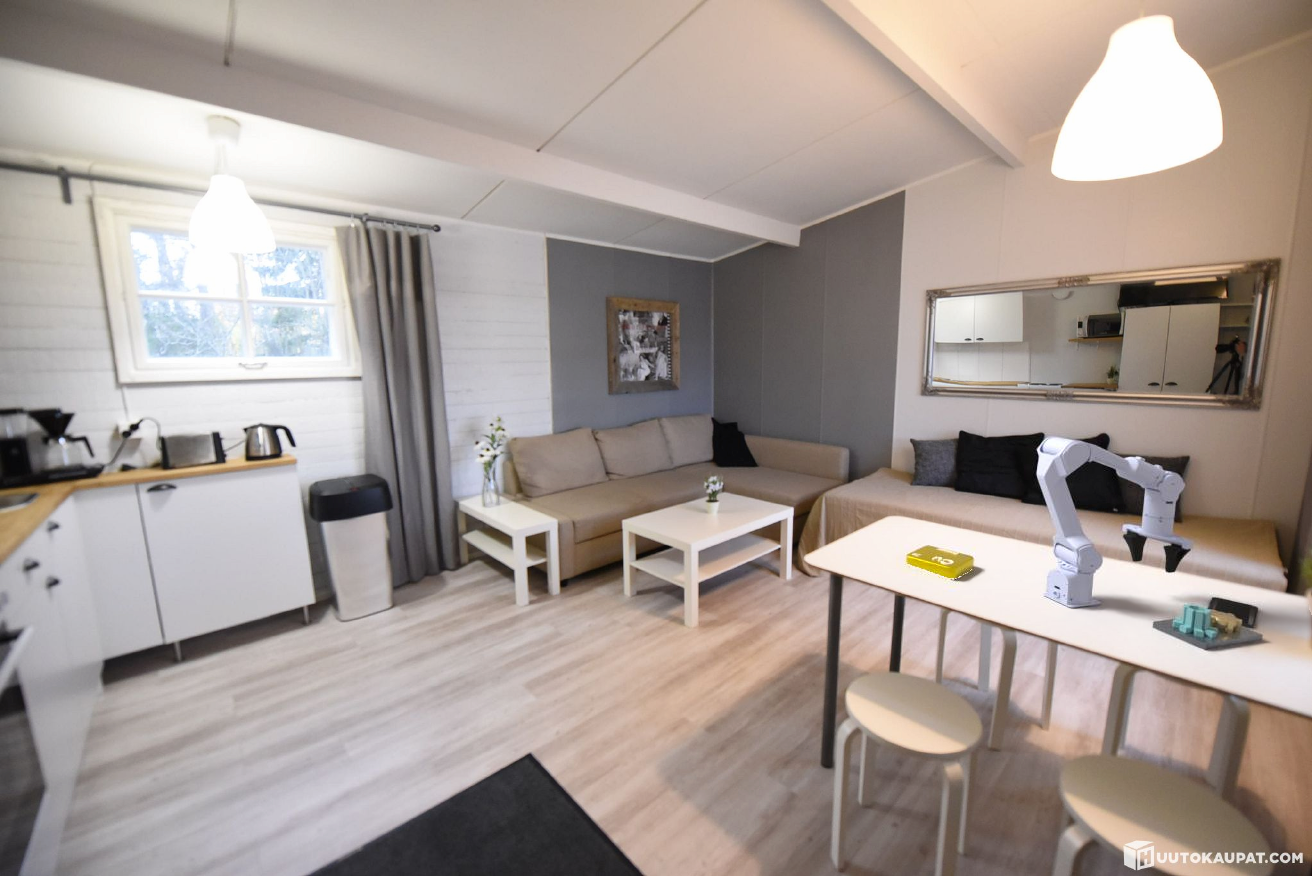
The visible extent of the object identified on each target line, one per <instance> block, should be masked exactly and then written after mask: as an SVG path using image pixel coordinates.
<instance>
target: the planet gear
mask: <svg viewBox="0 0 1312 876" xmlns="http://www.w3.org/2000/svg"><path fill="white" fill-rule="evenodd" d="M1181 616H1182V618H1181V617H1179V616H1178V617H1174V618H1175V620H1173V626H1174V627H1177V628H1179V630H1180V631H1182V632H1185V633H1189V632H1193V633H1194V634H1195V636H1199V637H1203V636H1204V635H1206V636H1208V637H1211V638H1215V637H1216V635H1218V631H1219V630H1218V629H1217V628H1215V627H1211V624H1210V619H1211V610H1209V609H1208V607H1206V606H1202V605H1198V604H1194V603H1192V604H1189V603H1185V604H1183V605H1182V615H1181Z"/></svg>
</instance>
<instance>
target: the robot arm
mask: <svg viewBox="0 0 1312 876" xmlns="http://www.w3.org/2000/svg"><path fill="white" fill-rule="evenodd" d="M1036 451H1037V454H1038V462H1037V468H1036V469H1037V470H1036V477H1037V481H1038V483H1039V484H1038V485H1039V486H1040V489H1041V492H1042V495H1043V498H1044V500H1045V504H1046V506H1047V509H1048V511H1049V515H1050V517H1051V520H1052V521H1051V522H1052V523H1053V526H1054V529H1055V532H1056V534H1055V535H1053V537H1052V540H1053V547H1052V552H1053V555H1054V556H1055V557H1056V558H1057V563H1058V565H1057V567H1056V568H1054V569H1051V570H1050V571H1049V572H1048V573H1047V578H1046V589H1045V592H1043V593H1042V595H1043V596H1044V597H1046V598H1048V599H1051V600H1053V601H1055V602H1057V603H1058V604H1062V605H1064V606H1066V607H1068V608H1071V609H1073V608H1079V607H1080V608H1081V607H1087V606H1095V605H1101V601H1100V600H1099V601H1098V600H1097V599H1095V598H1093V597H1092V596H1093V585H1094V575H1095V574H1096V571H1099V569H1100V568H1101V567H1102V565H1103V562H1104V559H1103V556H1102V554H1101V553H1100V551H1098V550H1097V549H1096V547H1095V545H1094V542H1093V541H1091V539H1089V537H1088V536H1087V535H1086V534H1085V533H1084V530H1083V527H1082V524H1081V522H1080V521H1081V520H1080V519H1079V516H1078V513H1077V511H1076V507H1075V504H1074V502H1073V499H1072V495H1071V493H1070V489H1069V487H1068V484H1067V481H1066V478H1067V477H1068V476H1069V475H1071V473H1073V472H1074V471H1076V470H1077V469H1078V468H1080V467H1081V466H1082V465H1084V464H1085V463H1086V462H1089V463H1091V462H1092V461H1093V462H1096V463H1099V464H1101V465H1104V466H1106V467H1110V468H1112V469H1114V470H1115V471H1116V474H1117V476H1118V477H1120V478H1123V479H1125V480H1128V481H1130V482H1132V483H1135V484H1137V485H1140V487H1141V488H1142V489H1144V499H1143V509H1142V519H1141V520H1142V521H1141V526H1140V525H1135V524H1130V523H1127V524H1125V523H1124V524H1122V532H1123V533H1124V534H1122V538H1123V539H1124V541H1125V543H1126V544H1127V546H1128V550H1129V552H1130V556H1131V559H1132V562H1135V563H1136V562H1142V560H1143V555H1144V548H1145V544H1146V542H1147V539H1148V538H1149V539H1152V540H1155V541H1159V542H1162V543H1166V544H1170V545H1163V550H1164V554H1165V565H1164V570H1165V573H1168V574H1170V573H1175V572H1176V570H1177V569H1178V566H1179V564H1180V563H1181V561H1182V560H1183V558H1184V557H1185V556H1186V555H1187V554H1189V552H1191V550H1192V549H1194V543H1195V540H1194V541H1193V540H1191V539H1187V538H1185V537H1183V536H1180V535H1177V534H1174V533H1173V531H1174V524H1175V523H1174V522H1175V512H1176V503H1177V501H1178V500H1179V497H1180V494H1181V493H1182V491H1183V490H1184V489H1185V487H1186V483H1185V482H1184V479H1183V478H1182V477H1181V475H1180V474H1178V473H1177V472H1174V471H1169V470H1164V469H1163V466H1161V465H1159V464H1154V465H1153V464H1151V463H1149V462H1147V461H1146V459H1145V458H1143V457H1141V456H1128V457H1122V456H1120V455H1117V454H1115V453H1113V452H1111V451H1110V450H1106V449H1104V448H1102V447H1100V446H1098V445H1096V444H1092V443H1088V442H1085V441H1082V440H1078V439H1077V440H1074V439H1070V438H1064V437H1061V436H1057V435H1056V436H1055V435H1052V436H1051V435H1050V436H1047V437H1046V438H1045V439H1043V440H1042V442H1041V443H1040V445H1039V446H1038V447H1037V448H1036Z"/></svg>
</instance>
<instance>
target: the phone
mask: <svg viewBox="0 0 1312 876" xmlns="http://www.w3.org/2000/svg"><path fill="white" fill-rule="evenodd" d="M1207 608H1208V609H1212V610H1216V611H1219V612H1224V613H1230V614H1233V615H1234V616H1235V617H1236V618H1237V619H1241V620H1242V625H1241V627H1244V628H1246V629H1250V630H1252V629H1255V626H1256V625H1255V624H1256V621H1257V617H1258V612H1259V607H1258V606H1256V605H1252V604H1249V603H1243V602H1240V601H1235V600H1231V599H1226V598H1222V597H1217V596H1212V597H1211V598H1210V601H1209V604H1208V606H1207Z"/></svg>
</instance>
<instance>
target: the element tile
mask: <svg viewBox="0 0 1312 876" xmlns="http://www.w3.org/2000/svg"><path fill="white" fill-rule="evenodd" d="M974 561H975V559H974V556H972V555H970V554H966V553H960V552H957V551H953V550H949V549H945V548H941V547H936V546H933V545H924V546H922V547H919V548H918V549H916V550H914V551H910V552H909V553H907V554H906V561H905V562H907V564H910V565H912V566H915V567H919V568H921V569H925V570H927V571H930V572H933V573H935V574H939V575H941V576H944V577H947V578H954V579H955V578H958V577H959V576H962V575H963V574H965V573H967V572H968V571H970V570H971V569H973V570H974V565H975V563H974Z"/></svg>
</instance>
